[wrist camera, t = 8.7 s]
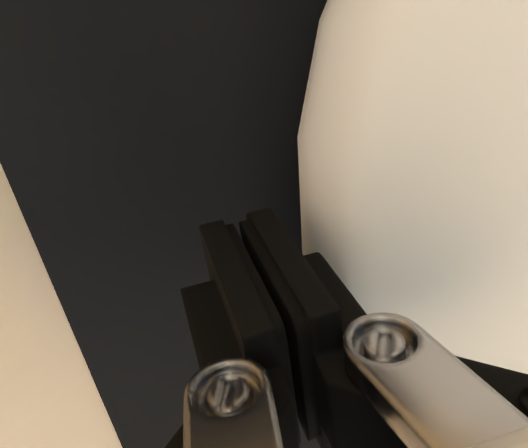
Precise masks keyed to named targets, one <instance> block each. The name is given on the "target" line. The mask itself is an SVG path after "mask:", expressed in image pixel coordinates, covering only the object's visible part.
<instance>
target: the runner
mask: <svg viewBox="0 0 528 448" xmlns="http://www.w3.org/2000/svg"><path fill="white" fill-rule="evenodd" d="M326 2H327V0H0V163H1V165H2V167H3V170H4V172H5V174H6V177H7V179H8V181H9V184H10V186H11V188H12V191H13V193H14V195H15V198H16V200H17V202H18V205H19V207H20V209H21V212H22V214H23V216H24V219H25V221H26V223H27V226H28V228H29V230H30V233H31V235H32V237H33V240H34V242H35V244H36V247H37V249H38V251H39V254H40V256H41V258H42V261H43V263H44V265H45V268H46V270H47V272H48V275H49V277H50V279H51V282H52V284H53V286H54V289H55V291H56V293H57V296H58V298H59V300H60V303H61V305H62V307H63V310H64V312H65V314H66V316H67V319H68V321H69V323H70V326H71V328H72V330H73V333H74V335H75V337H76V340H77V342H78V344H79V347H80V349H81V351H82V354H83V356H84V358H85V361H86V363H87V365H88V368H89V370H90V372H91V375H92V377H93V379H94V382H95V384H96V386H97V389H98V391H99V393H100V396H101V398H102V400H103V403H104V405H105V407H106V410H107V412H108V414H109V417H110V419H111V421H112V424H113V426H114V428H115V431H116V433H117V435H118V438H119V440H120V442H121V445H122V447H123V448H165V447H166V445H167V444H168V443H169V441H170V440H171V439H172V437H173V436H174V435H175V433H176V432H177V431H178V430H179V428H180V427H181V426H182V424H183V403H184V392H185V387H186V385H187V383H188V382H189V380H190V378H191V377H192V375H194V374H195V373H196V372H197V371H198V370H199V369H200V368H199V364H198V360H197V356H196V352H195V348H194V344H193V340H192V335H191V331H190V327H189V323H188V319H187V315H186V311H185V307H184V303H183V299H182V295H181V291H180V289H181V288H185V287H189V286H193V285H196V284H200V283H204V282H207V281H210V277H209V272H208V268H207V263H206V258H205V254H204V249H203V245H202V240H201V235H200V231H199V225H202V224H206V223H210V222H214V221H218V220H223V221H224V224H225V225H228V224H232V223H233V224H234V226H235V228H236V230H237V232H238V234H239V236H240V238H241V233H240V227H239V222H240V221H244V220H247V219H246V214H247V213H251V212H255V211H259V210H263V209H267V208H271V209H272V211H273V212H274V214H275V215H276V217H277V218H278V219H279V221H280V222H281V224H282V225H283V227H284V228H285V229H286V231H287V232H288V234H289V235H290V237H291V238H292V239H293V241H294V242H295V244H296V245H297V247H298V248H299V250H300V251H301V252H302V233H301V210H300V187H299V164H298V141H297V136H298V131H299V125H300V120H301V115H302V109H303V104H304V99H305V93H306V88H307V83H308V78H309V72H310V67H311V62H312V56H313V51H314V46H315V40H316V35H317V30H318V24H319V19H320V17H321V15H322V12H323V10H324V7H325V5H326ZM241 240H242V239H241ZM298 422H299V420H298ZM299 430H300V437H301V444H299V448H321V447H320V445H319V443H318V440H317V438H316V439H313V440H310V441H308V440H307V438H306V436H305V434H304V432H303V429H302V427H301V425H300V422H299Z"/></svg>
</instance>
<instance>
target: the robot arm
mask: <svg viewBox="0 0 528 448" xmlns="http://www.w3.org/2000/svg"><path fill="white" fill-rule="evenodd" d="M246 219H247V220H244V221H240V222H239V227H240V233H241V238H240V236H239V234H238V232H237V230H236V228H235V226H234V224H233V223H232V224H228V225H225V224H224V221H223V220H218V221H214V222H210V223H206V224H202V225H199V231H200V235H201V240H202V245H203V249H204V254H205V258H206V263H207V268H208V272H209V277H210V281H207V282H204V283H200V284H196V285H193V286H189V287H185V288H181V289H180V291H181V295H182V299H183V303H184V307H185V311H186V315H187V319H188V323H189V327H190V331H191V335H192V340H193V344H194V348H195V352H196V356H197V360H198V364H199V368H200V369H199V370H198V371H197V372H196V373H195V374H194V375H192V377H191V378H190V380H189V382H188V383H187V385H186V387H185V392H184V403H183V424H182V426H181V427H180V428H179V430H178V431H177V432H176V433H175V435H174V436H173V437H172V439H171V440H170V441H169V443H168V444H167V445H166V447H165V448H299V444H301V437H300V430H299V422H300V425H301V427H302V429H303V432H304V434H305V436H306V438H307V440H308V441H310V440H313V439H316V438H317V440H318V443H319V445H320V447H321V448H528V374H525V373H521V372H517V371H513V370H509V369H505V368H501V367H497V366H493V365H490V364H486V363H482V362H478V361H474V360H470V359H466V358H462V357H458V356H455V355H453V354H452V353H451V352H450V351H449V350H447V349H446V348H445V347H444V346H443V345H442V344H440V343H439V342H438V341H437V340H436V339H435V338H433V337H432V336H431V335H430V334H429V333H427V332H426V331H425V330H424V329H423V328H422V327H420V326H419V325H418V324H417V323H415V322H413V321H412V320H410V319H409V318H407V317H404V316H401V315H398V314H393V313H385V312H381V313H371V314H366V312H365V311H364V310H363V308H362V307H361V306H360V305H359V303H358V302H357V301H356V299H355V298H354V297H353V295H352V294H351V293H350V291H349V290H348V289H347V287H346V286H345V285H344V283H343V282H342V281H341V280H340V278H339V277H338V276H337V274H336V273H335V272H334V270H333V269H332V268H331V266H330V265H329V264H328V262H327V261H326V260H325V258H324V257H323V256H322V255H321V254H320V253H319V252H315V253H311V254H307V255H303V254H302V252H301V251H300V250H299V248H298V247H297V245H296V244H295V242H294V241H293V239H292V238H291V237H290V235H289V234H288V232H287V231H286V229H285V228H284V227H283V225H282V224H281V222H280V221H279V219H278V218H277V217H276V215H275V214H274V212H273V211H272V209H271V208H267V209H263V210H259V211H255V212H251V213H247V214H246ZM241 239H242V240H241ZM298 420H299V422H298Z"/></svg>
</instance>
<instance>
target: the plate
mask: <svg viewBox="0 0 528 448" xmlns="http://www.w3.org/2000/svg"><path fill="white" fill-rule="evenodd" d="M297 141H298V164H299V187H300V210H301V233H302V254H303V255H307V254H311V253H315V252H319V253H320V254H321V255H322V256H323V257H324V258H325V260H326V261H327V262H328V264H329V265H330V266H331V268H332V269H333V270H334V272H335V273H336V274H337V276H338V277H339V278H340V280H341V281H342V282H343V283H344V285H345V286H346V287H347V289H348V290H349V291H350V293H351V294H352V295H353V297H354V298H355V299H356V301H357V302H358V303H359V305H360V306H361V307H362V308H363V310H364V311H365V312H366V314H371V313H381V312H385V313H393V314H398V315H401V316H404V317H407V318H409V319H410V320H412V321H413V322H415V323H417V324H418V325H419V326H420V327H422V328H423V329H424V330H425V331H426V332H427V333H429V334H430V335H431V336H432V337H433V338H435V339H436V340H437V341H438V342H439V343H440V344H442V345H443V346H444V347H445V348H446V349H447V350H449V351H450V352H451V353H452V354H453V355H455V356H458V357H462V358H466V359H470V360H474V361H478V362H482V363H486V364H490V365H493V366H497V367H501V368H505V369H509V370H513V371H517V372H521V373H525V374H528V0H327V2H326V5H325V7H324V10H323V12H322V15H321V17H320V19H319V24H318V30H317V35H316V40H315V46H314V51H313V56H312V62H311V67H310V72H309V78H308V83H307V88H306V93H305V99H304V104H303V109H302V115H301V120H300V125H299V131H298V136H297Z"/></svg>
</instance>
